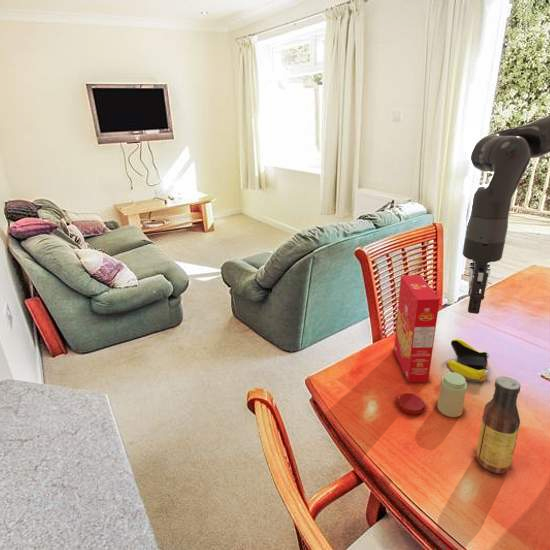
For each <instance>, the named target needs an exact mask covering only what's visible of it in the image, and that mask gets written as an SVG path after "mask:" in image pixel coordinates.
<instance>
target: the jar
mask: <svg viewBox="0 0 550 550" xmlns="http://www.w3.org/2000/svg"><path fill="white" fill-rule="evenodd" d="M466 380H467V379H465V378H464V377H463V376H462V375H460V374H458V373H454V372H451V371H449V372H446V373H444V374H443V376H442V377H441V379H440V385H439V391H438V398H437V404H436V407H437V410H438V411H439V413H440V414H443V415H444V416H446V417H450V418H458V417H460V416H461V415H463V411H464V406H465V400H466V396H467V390H468V383H467V381H466Z"/></svg>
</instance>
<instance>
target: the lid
mask: <svg viewBox="0 0 550 550" xmlns="http://www.w3.org/2000/svg"><path fill="white" fill-rule="evenodd" d="M424 402H425V401H424V400H423V399H422V398H421V397H420V396H418V395H417V394H415V393H402V394H400V395H399V397H398V399H397V407H398V408H399V409H400V411H402V412H403V413H405V414H408V415H413V416H416V415H419V414H422V412H424V409H425V403H424Z"/></svg>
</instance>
